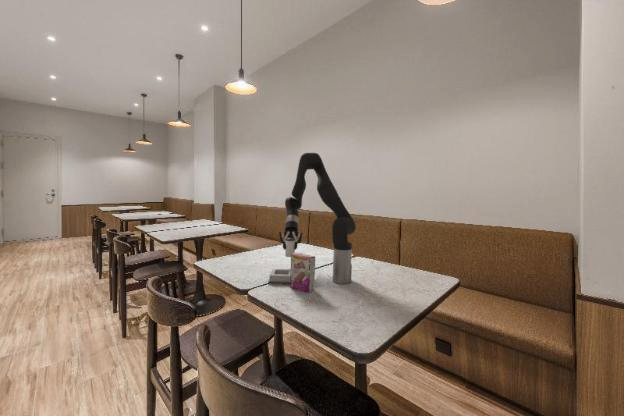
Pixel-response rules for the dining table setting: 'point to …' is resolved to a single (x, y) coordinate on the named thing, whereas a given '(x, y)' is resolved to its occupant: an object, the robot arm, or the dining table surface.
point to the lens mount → (280, 276)
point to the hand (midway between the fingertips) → (289, 248)
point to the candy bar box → (302, 272)
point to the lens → (289, 246)
